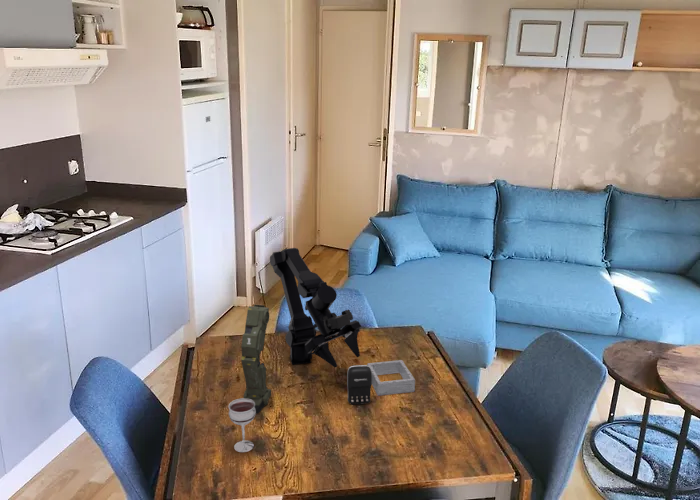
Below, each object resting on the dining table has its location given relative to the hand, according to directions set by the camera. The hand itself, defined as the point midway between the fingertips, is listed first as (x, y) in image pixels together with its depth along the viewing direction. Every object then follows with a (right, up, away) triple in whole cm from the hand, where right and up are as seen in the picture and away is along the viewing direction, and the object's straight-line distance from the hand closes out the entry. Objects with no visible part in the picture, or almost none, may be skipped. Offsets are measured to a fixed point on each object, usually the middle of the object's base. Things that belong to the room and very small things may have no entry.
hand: (347, 361), depth 172 cm
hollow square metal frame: (+13, -9, +11) cm, 19 cm away
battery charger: (+3, -12, 0) cm, 13 cm away
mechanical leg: (-26, -12, 0) cm, 29 cm away
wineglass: (-27, -18, -20) cm, 38 cm away
